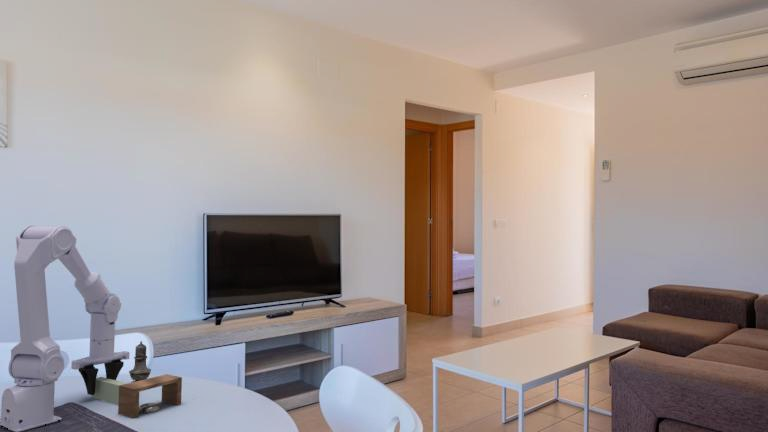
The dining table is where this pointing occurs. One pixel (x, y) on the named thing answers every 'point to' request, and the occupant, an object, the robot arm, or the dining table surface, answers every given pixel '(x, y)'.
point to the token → (149, 408)
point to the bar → (107, 390)
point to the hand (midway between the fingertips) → (100, 391)
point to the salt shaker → (140, 364)
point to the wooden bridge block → (130, 391)
